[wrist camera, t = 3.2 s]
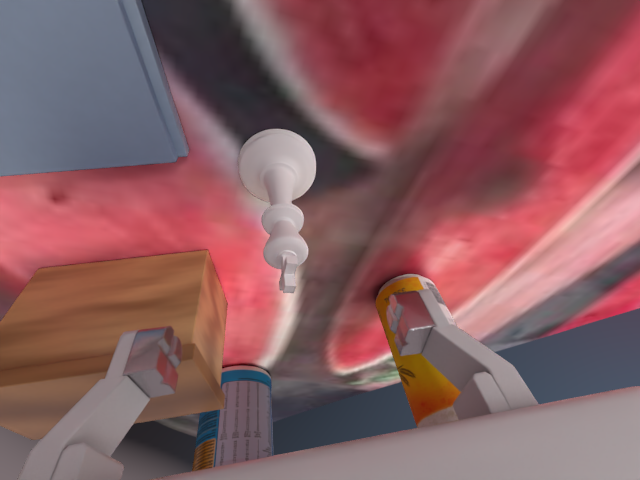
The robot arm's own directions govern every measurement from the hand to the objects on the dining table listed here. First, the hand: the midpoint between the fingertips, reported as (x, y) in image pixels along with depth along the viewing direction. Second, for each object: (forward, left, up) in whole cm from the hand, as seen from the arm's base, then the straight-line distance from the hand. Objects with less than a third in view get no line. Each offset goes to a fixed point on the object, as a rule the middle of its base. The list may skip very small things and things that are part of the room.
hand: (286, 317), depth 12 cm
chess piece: (0, 0, -11) cm, 11 cm away
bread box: (+10, -12, -11) cm, 19 cm away
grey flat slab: (-6, -12, -11) cm, 17 cm away
